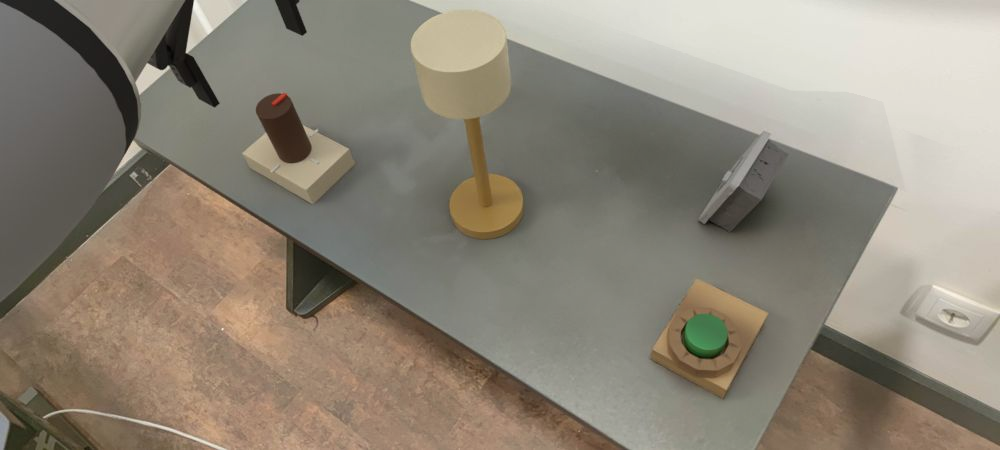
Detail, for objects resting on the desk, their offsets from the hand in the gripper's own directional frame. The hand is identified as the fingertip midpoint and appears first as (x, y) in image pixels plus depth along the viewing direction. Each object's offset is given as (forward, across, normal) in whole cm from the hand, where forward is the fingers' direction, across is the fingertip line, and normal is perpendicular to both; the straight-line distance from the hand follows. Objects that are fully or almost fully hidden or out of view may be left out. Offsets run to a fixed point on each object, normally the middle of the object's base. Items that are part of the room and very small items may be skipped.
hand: (254, 64), depth 79 cm
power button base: (+17, -5, +56) cm, 58 cm away
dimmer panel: (+17, 0, 0) cm, 17 cm away
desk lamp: (+17, -7, +26) cm, 32 cm away
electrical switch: (+17, -23, +51) cm, 58 cm away
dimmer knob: (+14, 0, 0) cm, 14 cm away
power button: (+13, -3, +56) cm, 57 cm away
